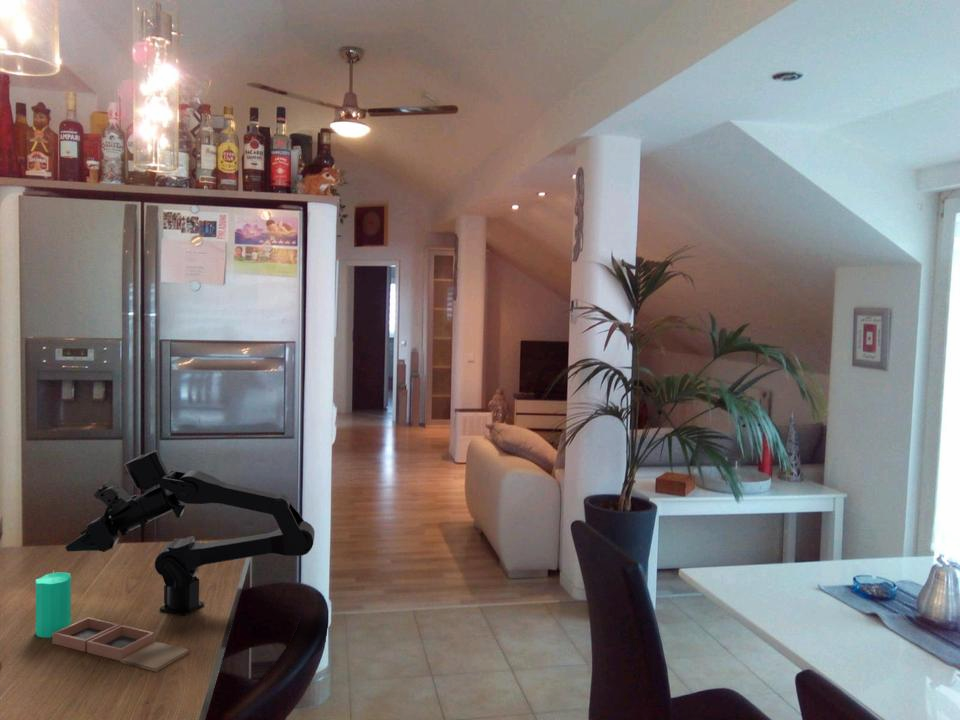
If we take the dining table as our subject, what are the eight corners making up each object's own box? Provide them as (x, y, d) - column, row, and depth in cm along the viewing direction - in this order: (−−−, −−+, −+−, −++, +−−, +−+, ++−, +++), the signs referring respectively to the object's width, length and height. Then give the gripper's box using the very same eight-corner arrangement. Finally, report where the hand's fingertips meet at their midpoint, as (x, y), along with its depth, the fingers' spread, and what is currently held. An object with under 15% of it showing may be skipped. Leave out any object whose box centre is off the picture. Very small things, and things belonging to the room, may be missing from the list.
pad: (188, 652, 137) (188, 649, 137) (156, 671, 129) (156, 668, 129) (154, 644, 140) (154, 641, 140) (120, 662, 132) (120, 659, 132)
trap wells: (154, 642, 140) (154, 632, 140) (120, 660, 133) (120, 650, 133) (88, 627, 146) (88, 617, 146) (52, 643, 138) (52, 633, 138)
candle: (63, 621, 148) (63, 562, 147) (76, 630, 144) (76, 570, 143) (30, 630, 143) (30, 570, 142) (42, 640, 139) (42, 578, 139)
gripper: (140, 463, 162) (70, 495, 160) (116, 484, 144) (37, 520, 141) (164, 507, 164) (95, 540, 161) (143, 533, 145) (65, 570, 143)
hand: (74, 541), depth 152 cm, fingers open, 9 cm apart
